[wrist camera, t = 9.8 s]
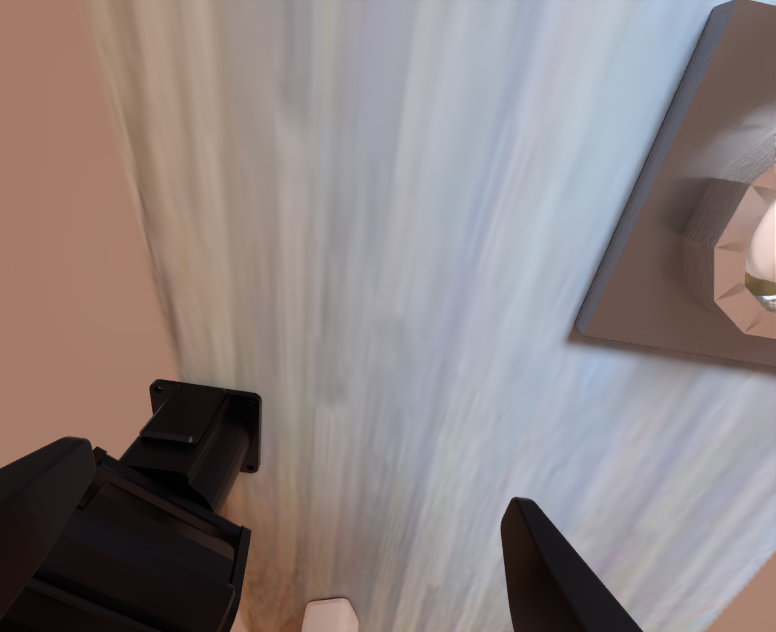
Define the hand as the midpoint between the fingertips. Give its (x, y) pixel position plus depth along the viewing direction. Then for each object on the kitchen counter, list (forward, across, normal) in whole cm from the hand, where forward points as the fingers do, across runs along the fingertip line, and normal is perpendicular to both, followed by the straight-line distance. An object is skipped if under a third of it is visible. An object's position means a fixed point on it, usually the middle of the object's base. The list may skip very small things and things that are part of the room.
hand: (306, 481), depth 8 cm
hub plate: (+13, -19, -6) cm, 24 cm away
